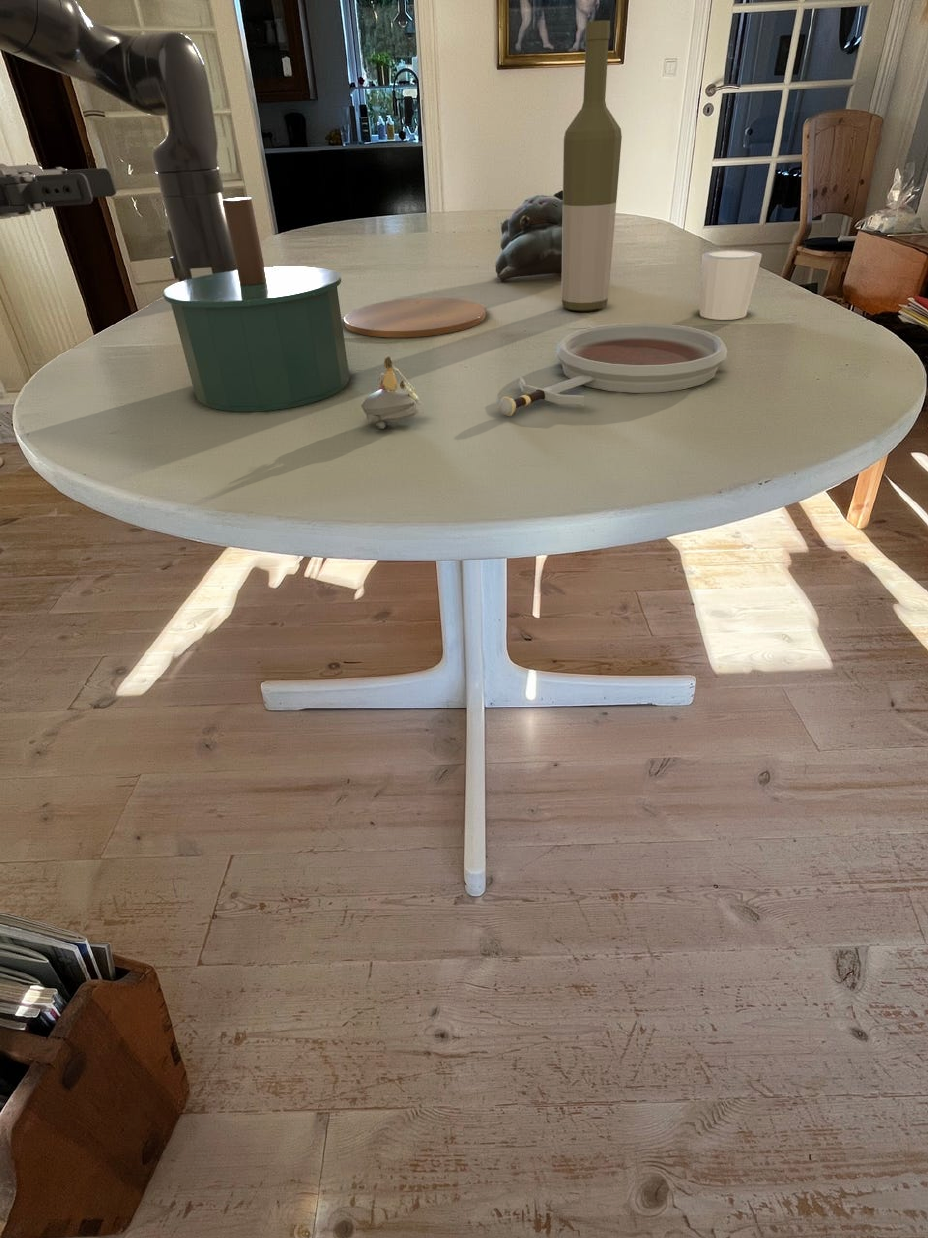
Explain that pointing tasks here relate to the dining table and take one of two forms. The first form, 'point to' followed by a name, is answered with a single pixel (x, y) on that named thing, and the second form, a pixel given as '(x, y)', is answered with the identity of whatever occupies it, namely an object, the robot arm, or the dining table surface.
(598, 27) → the bottle
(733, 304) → the white cup
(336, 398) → the dining table surface
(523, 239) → the grey lumpy animal shape
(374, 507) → the dining table surface
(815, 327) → the dining table surface
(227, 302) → the lid
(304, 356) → the pot
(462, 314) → the trivet
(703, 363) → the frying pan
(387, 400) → the figurine
